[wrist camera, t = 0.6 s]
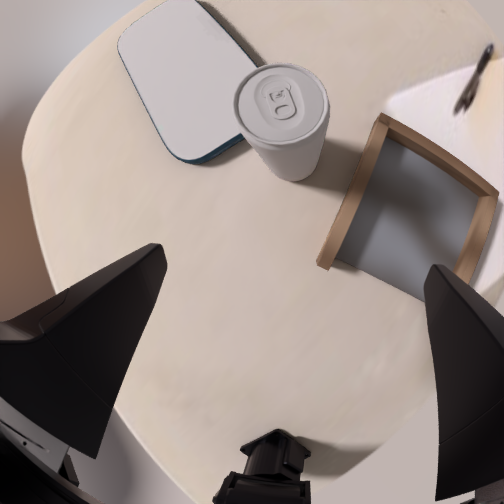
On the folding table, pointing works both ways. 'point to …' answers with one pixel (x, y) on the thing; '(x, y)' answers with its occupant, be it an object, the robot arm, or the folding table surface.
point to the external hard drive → (186, 77)
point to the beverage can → (283, 117)
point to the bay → (410, 211)
